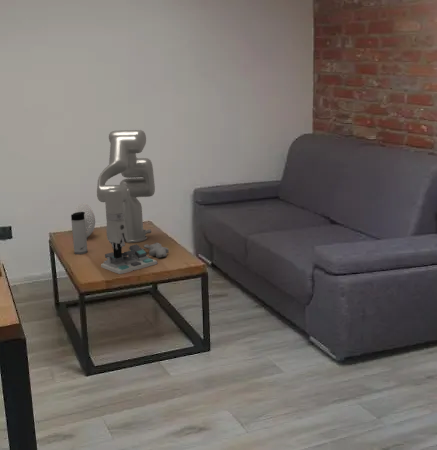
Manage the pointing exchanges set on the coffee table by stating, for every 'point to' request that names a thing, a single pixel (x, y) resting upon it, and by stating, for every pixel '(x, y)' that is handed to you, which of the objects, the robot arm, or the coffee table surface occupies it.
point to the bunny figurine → (157, 250)
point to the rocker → (111, 255)
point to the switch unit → (128, 263)
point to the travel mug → (79, 233)
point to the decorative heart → (87, 217)
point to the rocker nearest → (138, 251)
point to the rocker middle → (128, 253)
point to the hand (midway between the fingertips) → (118, 257)
